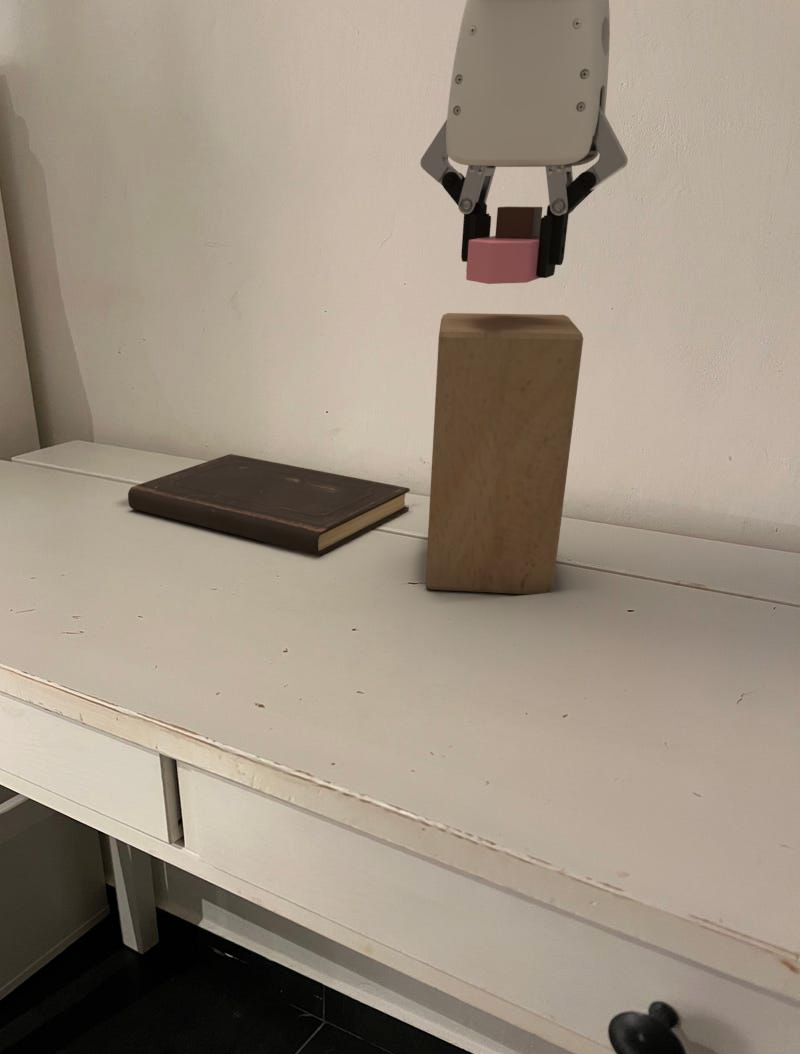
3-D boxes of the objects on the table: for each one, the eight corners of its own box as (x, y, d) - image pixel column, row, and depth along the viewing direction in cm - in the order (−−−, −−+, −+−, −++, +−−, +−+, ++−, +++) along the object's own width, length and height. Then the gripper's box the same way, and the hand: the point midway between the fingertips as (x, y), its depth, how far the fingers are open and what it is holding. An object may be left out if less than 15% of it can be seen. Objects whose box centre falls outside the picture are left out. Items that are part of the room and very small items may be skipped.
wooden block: (428, 547, 82) (441, 312, 73) (542, 552, 81) (569, 314, 72) (424, 591, 73) (438, 329, 64) (552, 597, 72) (585, 332, 63)
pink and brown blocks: (494, 272, 70) (499, 206, 68) (551, 274, 69) (558, 206, 67) (456, 282, 63) (461, 208, 60) (520, 285, 61) (527, 209, 59)
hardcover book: (231, 473, 103) (230, 453, 102) (408, 510, 91) (409, 488, 90) (128, 510, 91) (126, 488, 90) (317, 558, 79) (317, 533, 78)
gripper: (682, -32, 58) (637, 275, 66) (430, -11, 65) (417, 267, 73) (669, -58, 52) (621, 284, 60) (393, -32, 58) (383, 274, 67)
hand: (510, 272), depth 66 cm, fingers closed on pink and brown blocks, 4 cm apart
